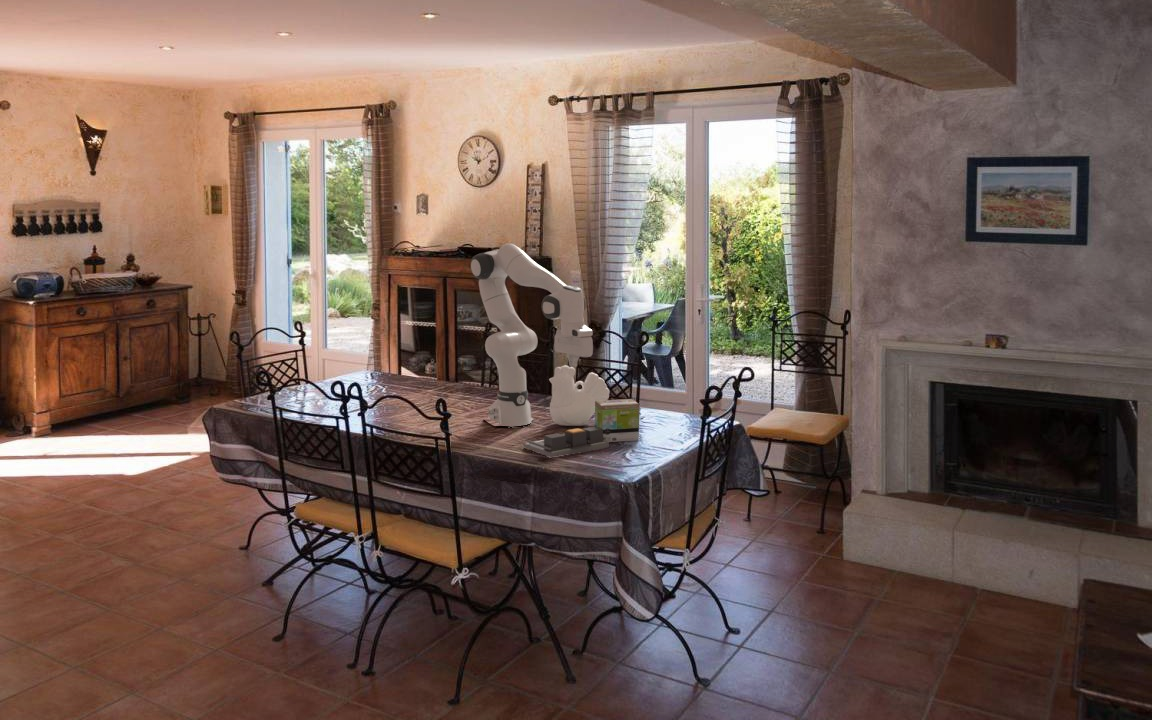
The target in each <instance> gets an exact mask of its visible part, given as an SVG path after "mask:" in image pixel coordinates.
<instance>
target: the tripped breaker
mask: <svg viewBox="0 0 1152 720" xmlns="http://www.w3.org/2000/svg"><path fill="white" fill-rule="evenodd" d="M582 429H583V428H578V427H577V428H572V429H571V428H570V429H567V430H565V431H564V434H565V436H566V443H569V444H571V446H570V447H569V446H568V448H571V449H578V448H583V447H588V446H592V445H590V444H587V443H586V431H584V430H582Z"/></svg>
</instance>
